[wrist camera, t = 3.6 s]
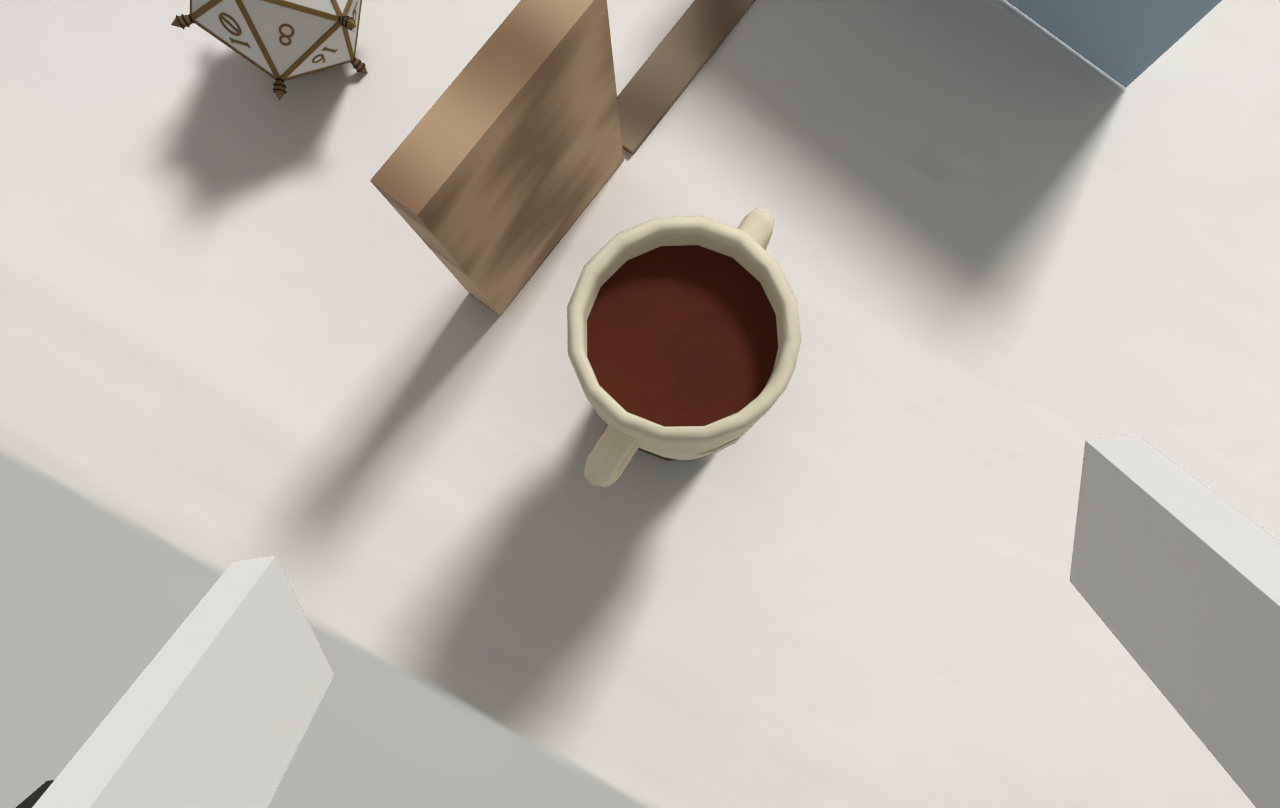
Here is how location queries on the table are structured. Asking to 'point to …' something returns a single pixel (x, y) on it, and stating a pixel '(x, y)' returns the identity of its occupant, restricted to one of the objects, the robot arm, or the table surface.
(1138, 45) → the door
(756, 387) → the character mug
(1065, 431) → the table surface
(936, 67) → the table surface
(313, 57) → the game die
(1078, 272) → the table surface
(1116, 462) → the robot arm
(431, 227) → the door frame
